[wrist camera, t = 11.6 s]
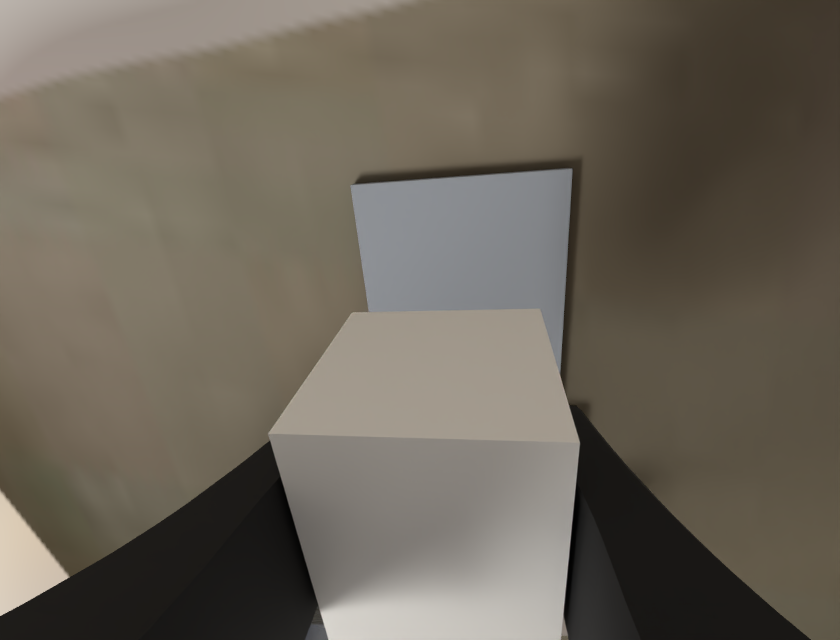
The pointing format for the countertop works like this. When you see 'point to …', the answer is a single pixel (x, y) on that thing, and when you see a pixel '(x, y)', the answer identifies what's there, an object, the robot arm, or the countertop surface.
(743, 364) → the countertop surface
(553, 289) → the mat
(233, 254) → the countertop surface
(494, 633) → the white block
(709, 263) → the countertop surface
